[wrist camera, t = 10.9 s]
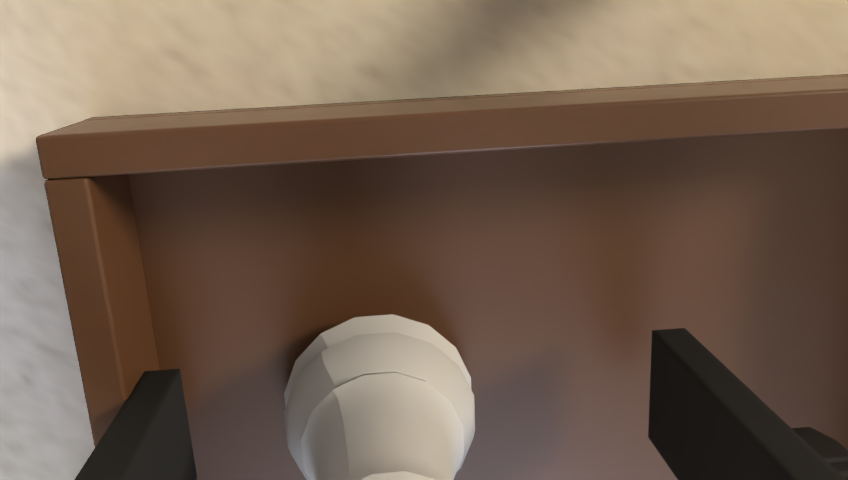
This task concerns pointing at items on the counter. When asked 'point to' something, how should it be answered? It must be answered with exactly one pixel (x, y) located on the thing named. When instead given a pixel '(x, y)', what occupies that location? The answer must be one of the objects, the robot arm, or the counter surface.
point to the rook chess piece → (379, 403)
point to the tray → (466, 257)
